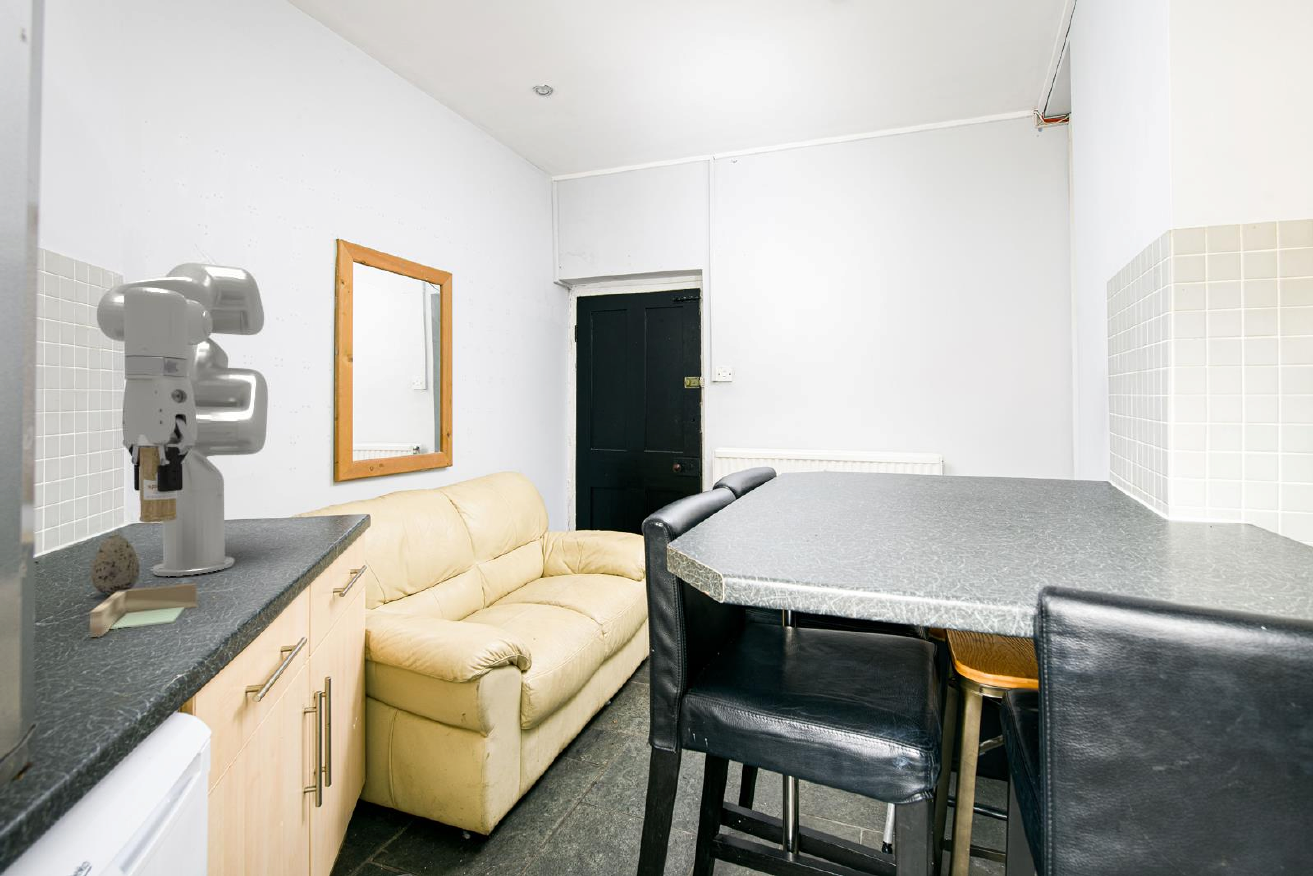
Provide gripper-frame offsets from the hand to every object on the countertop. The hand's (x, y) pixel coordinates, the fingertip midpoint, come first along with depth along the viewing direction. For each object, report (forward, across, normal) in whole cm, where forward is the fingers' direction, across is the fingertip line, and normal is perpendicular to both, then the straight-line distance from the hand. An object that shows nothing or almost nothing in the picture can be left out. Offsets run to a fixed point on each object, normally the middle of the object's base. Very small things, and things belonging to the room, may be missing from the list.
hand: (158, 489), depth 93 cm
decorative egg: (+19, +16, -3) cm, 24 cm away
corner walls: (+19, -3, +4) cm, 19 cm away
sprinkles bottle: (+5, 0, 0) cm, 5 cm away
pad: (+19, -3, +3) cm, 19 cm away
